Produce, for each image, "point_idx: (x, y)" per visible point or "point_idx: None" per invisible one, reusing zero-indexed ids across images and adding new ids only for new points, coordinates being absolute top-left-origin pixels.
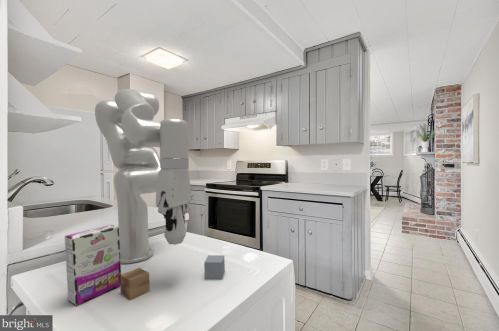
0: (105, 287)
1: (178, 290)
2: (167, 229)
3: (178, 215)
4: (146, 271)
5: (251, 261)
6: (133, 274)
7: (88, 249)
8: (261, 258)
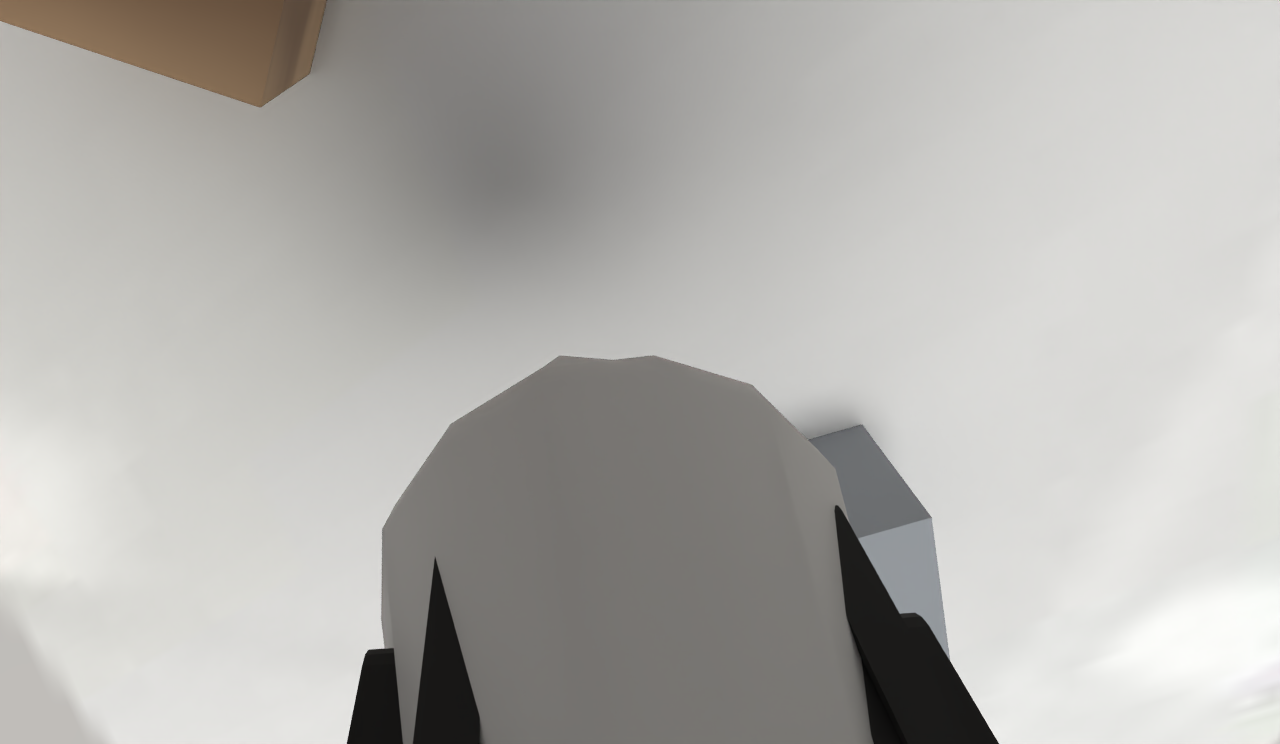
0: None
1: (436, 356)
2: (370, 674)
3: None
4: (269, 40)
5: (1108, 681)
6: None
7: None
8: (1174, 730)
